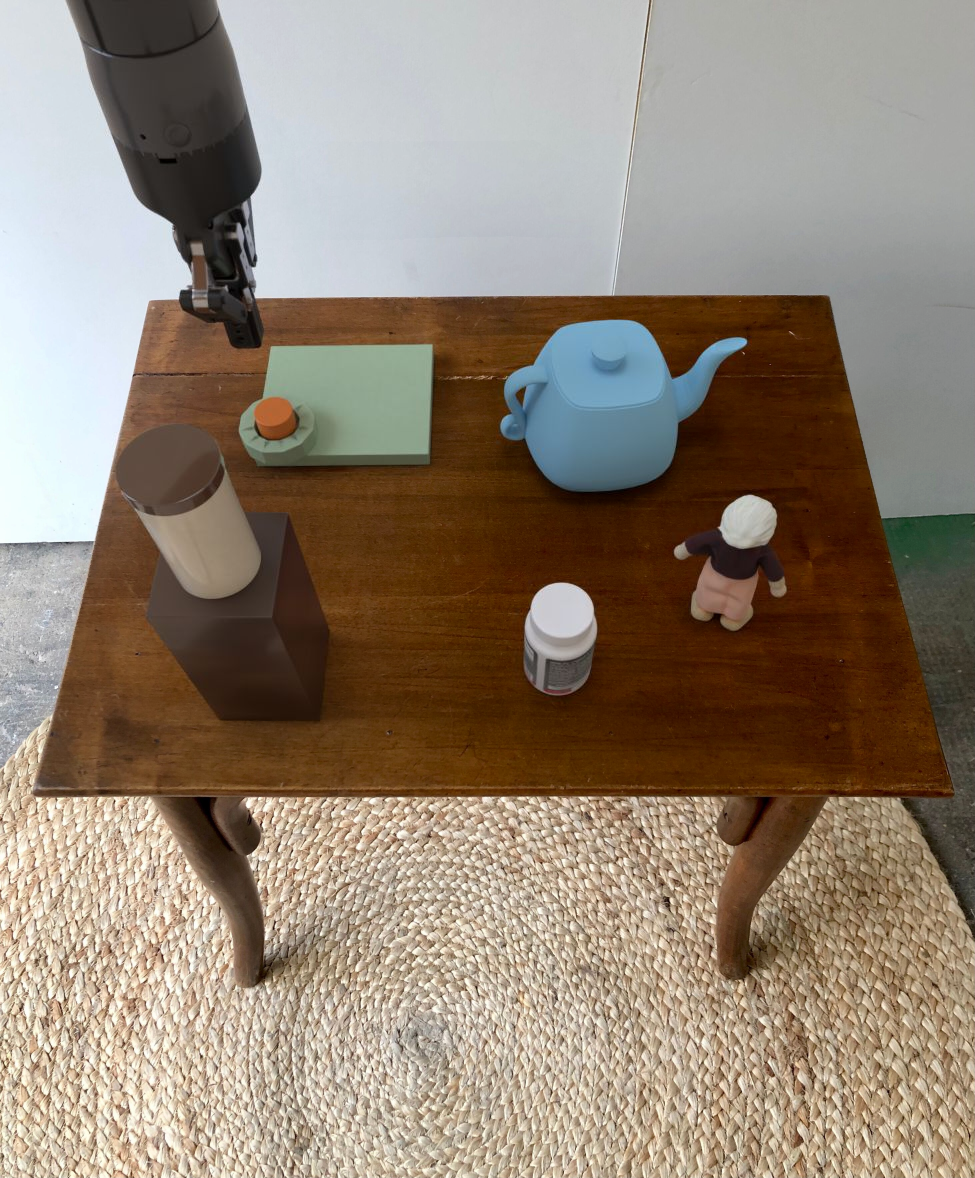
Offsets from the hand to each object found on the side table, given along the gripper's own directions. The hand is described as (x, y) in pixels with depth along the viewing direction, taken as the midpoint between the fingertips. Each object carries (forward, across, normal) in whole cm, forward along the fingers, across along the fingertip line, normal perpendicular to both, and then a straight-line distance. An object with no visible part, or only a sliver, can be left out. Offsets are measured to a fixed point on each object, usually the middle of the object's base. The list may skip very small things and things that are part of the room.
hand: (248, 341), depth 64 cm
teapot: (+12, 0, +27) cm, 29 cm away
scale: (+12, -4, +5) cm, 13 cm away
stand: (+12, +20, +2) cm, 24 cm away
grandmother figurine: (+12, +16, +33) cm, 39 cm away
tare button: (+9, 0, 0) cm, 9 cm away
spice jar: (-3, +20, +2) cm, 21 cm away
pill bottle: (+12, +20, +22) cm, 32 cm away
